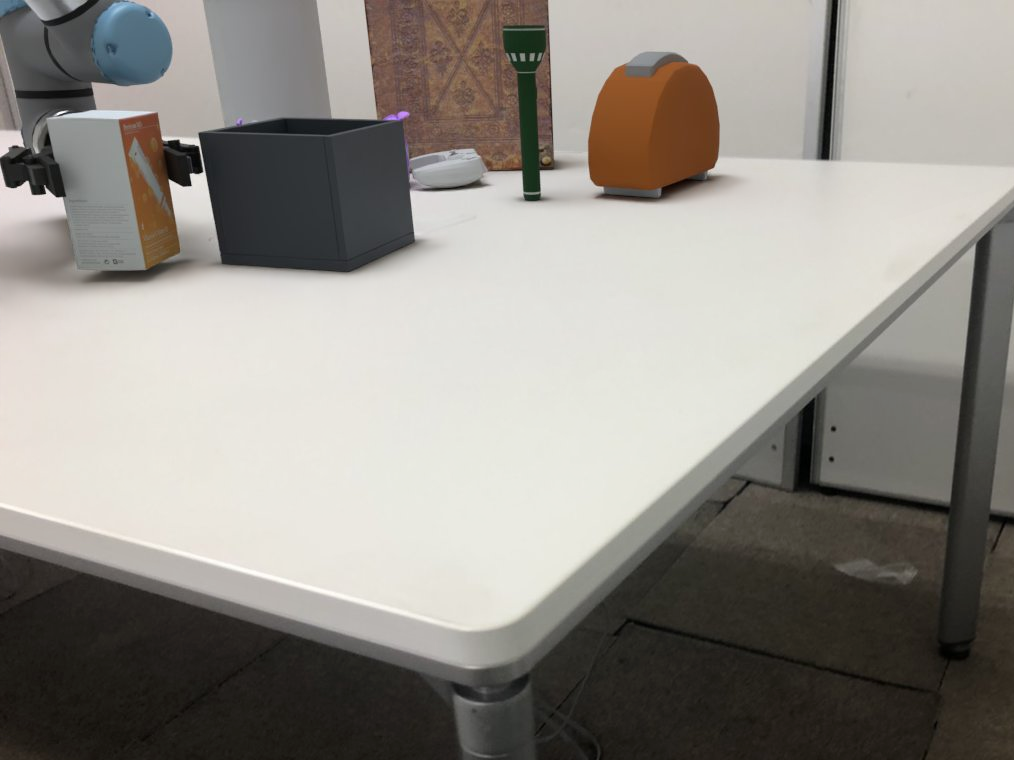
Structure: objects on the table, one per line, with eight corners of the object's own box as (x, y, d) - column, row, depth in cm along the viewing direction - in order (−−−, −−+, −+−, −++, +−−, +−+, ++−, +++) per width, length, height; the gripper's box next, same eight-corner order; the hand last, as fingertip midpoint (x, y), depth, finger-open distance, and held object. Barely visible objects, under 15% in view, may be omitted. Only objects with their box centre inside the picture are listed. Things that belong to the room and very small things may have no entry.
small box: (147, 272, 90) (118, 118, 85) (76, 271, 90) (42, 117, 85) (183, 252, 98) (159, 110, 92) (117, 252, 98) (89, 109, 92)
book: (381, 173, 148) (355, -60, 135) (388, 164, 156) (364, -56, 143) (555, 169, 150) (546, -60, 137) (553, 160, 159) (544, -56, 146)
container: (213, 165, 155) (180, -16, 145) (243, 150, 171) (215, -14, 160) (328, 163, 157) (304, -17, 146) (347, 148, 172) (326, -15, 162)
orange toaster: (663, 172, 147) (664, 47, 140) (720, 176, 144) (724, 48, 137) (586, 198, 128) (582, 55, 121) (650, 203, 125) (650, 56, 118)
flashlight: (560, 198, 128) (554, 25, 119) (532, 204, 125) (523, 26, 116) (532, 194, 131) (524, 25, 122) (503, 199, 127) (493, 25, 119)
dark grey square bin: (221, 263, 97) (197, 132, 92) (300, 234, 109) (282, 117, 104) (348, 271, 94) (331, 136, 89) (415, 241, 106) (403, 120, 101)
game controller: (405, 152, 144) (472, 134, 145) (414, 183, 146) (481, 165, 147) (410, 167, 131) (484, 147, 133) (420, 200, 133) (493, 180, 135)
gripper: (198, 178, 112) (259, 207, 95) (-35, 196, 100) (-13, 233, 84) (186, 105, 109) (246, 122, 92) (-57, 116, 97) (-38, 138, 80)
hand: (123, 175), depth 88 cm, fingers closed on small box, 9 cm apart
